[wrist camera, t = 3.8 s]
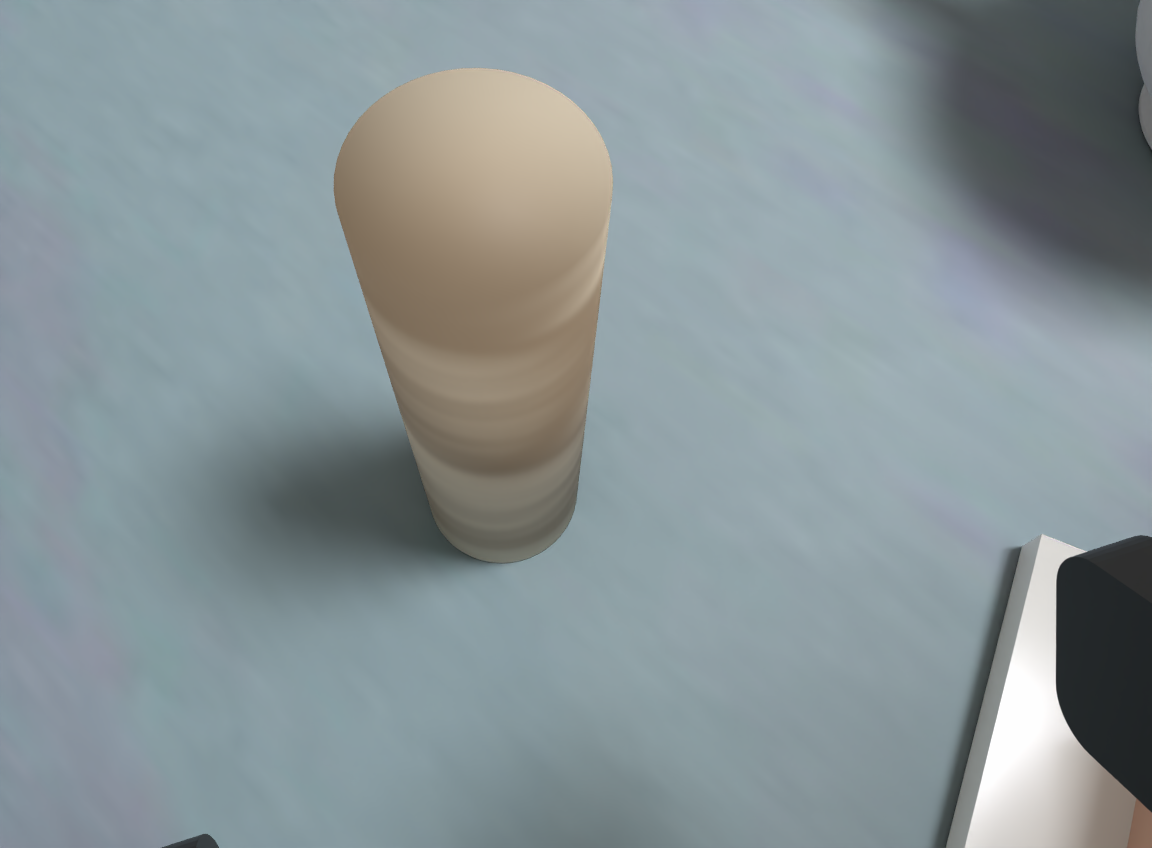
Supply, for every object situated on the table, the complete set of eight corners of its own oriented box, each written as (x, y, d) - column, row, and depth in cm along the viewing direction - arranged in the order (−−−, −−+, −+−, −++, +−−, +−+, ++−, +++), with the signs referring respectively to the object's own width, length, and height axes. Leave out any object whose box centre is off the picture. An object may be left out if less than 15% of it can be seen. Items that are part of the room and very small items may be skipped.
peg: (467, 402, 24) (410, 34, 13) (598, 455, 24) (653, 121, 13) (404, 528, 23) (282, 238, 12) (541, 586, 23) (547, 341, 12)
